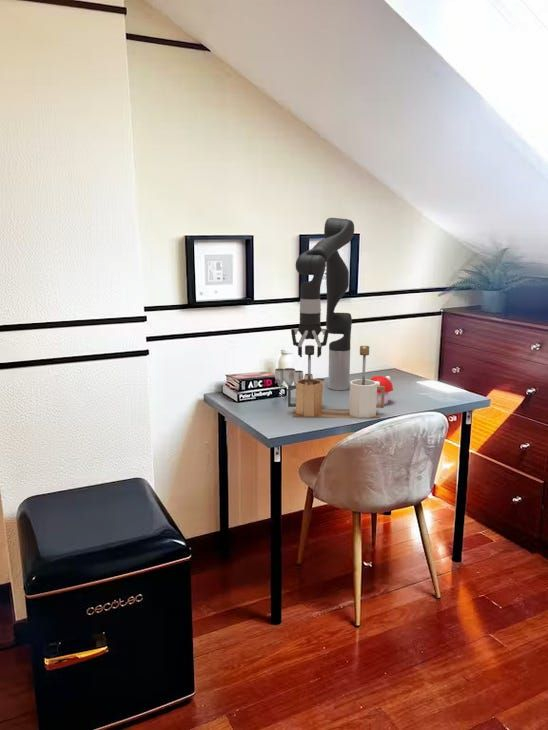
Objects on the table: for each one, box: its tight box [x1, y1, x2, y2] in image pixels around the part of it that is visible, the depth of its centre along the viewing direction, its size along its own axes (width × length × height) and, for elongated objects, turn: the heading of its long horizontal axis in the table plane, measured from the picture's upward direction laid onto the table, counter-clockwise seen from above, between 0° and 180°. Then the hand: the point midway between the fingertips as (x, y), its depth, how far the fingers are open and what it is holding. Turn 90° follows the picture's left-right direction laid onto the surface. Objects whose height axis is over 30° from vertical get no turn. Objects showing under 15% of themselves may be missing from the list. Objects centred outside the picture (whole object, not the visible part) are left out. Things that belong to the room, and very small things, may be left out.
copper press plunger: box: [304, 344, 315, 385], centre depth 227 cm, size 7×7×16 cm
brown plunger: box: [359, 345, 370, 385], centre depth 226 cm, size 7×7×16 cm
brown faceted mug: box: [287, 378, 323, 417], centre depth 229 cm, size 10×13×12 cm
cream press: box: [348, 378, 385, 419], centre depth 229 cm, size 10×13×12 cm
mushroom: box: [369, 375, 394, 405], centre depth 244 cm, size 11×11×12 cm
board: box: [292, 408, 381, 419], centre depth 230 cm, size 11×32×1 cm, turn 88°
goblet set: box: [274, 367, 327, 399], centre depth 246 cm, size 28×6×13 cm, turn 40°
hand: (309, 356), depth 226 cm, fingers open, 5 cm apart
